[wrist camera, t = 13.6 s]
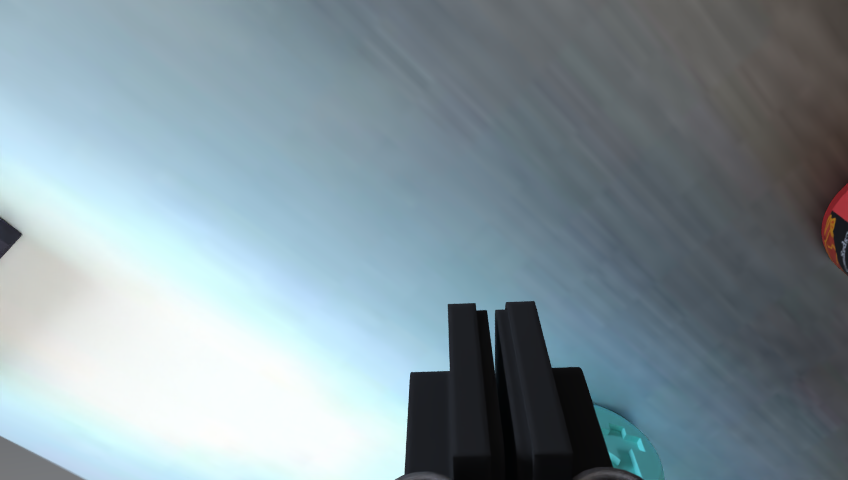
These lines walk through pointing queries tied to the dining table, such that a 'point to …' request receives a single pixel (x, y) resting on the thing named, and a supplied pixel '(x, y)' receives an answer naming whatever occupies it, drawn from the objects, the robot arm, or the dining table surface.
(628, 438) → the decorative dice
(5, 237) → the notebook
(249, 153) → the dining table surface
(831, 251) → the canned food
